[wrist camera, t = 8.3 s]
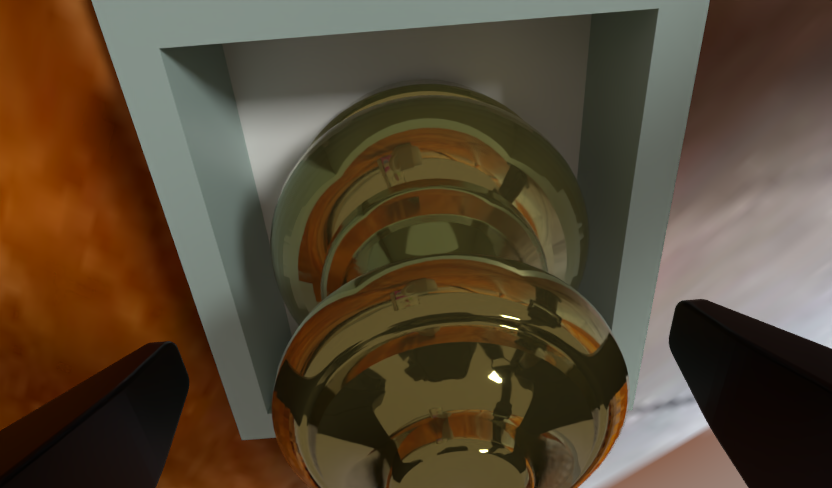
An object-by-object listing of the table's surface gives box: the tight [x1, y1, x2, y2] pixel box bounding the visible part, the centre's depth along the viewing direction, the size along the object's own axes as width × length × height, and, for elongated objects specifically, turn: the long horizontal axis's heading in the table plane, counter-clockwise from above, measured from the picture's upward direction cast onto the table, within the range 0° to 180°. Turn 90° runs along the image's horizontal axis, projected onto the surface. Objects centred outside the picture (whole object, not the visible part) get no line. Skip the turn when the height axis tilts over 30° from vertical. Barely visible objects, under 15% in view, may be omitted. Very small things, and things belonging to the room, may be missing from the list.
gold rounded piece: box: [270, 79, 630, 488], centre depth 10 cm, size 7×7×10 cm
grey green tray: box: [91, 0, 710, 440], centre depth 13 cm, size 16×14×4 cm
